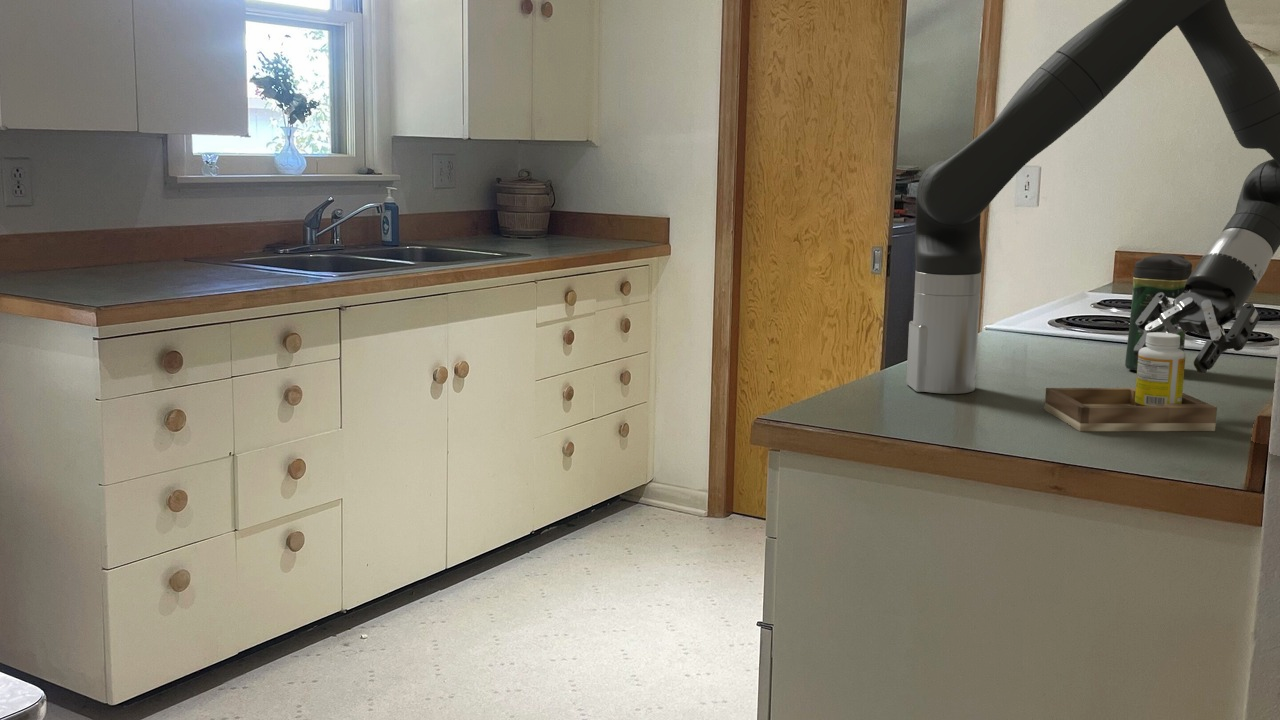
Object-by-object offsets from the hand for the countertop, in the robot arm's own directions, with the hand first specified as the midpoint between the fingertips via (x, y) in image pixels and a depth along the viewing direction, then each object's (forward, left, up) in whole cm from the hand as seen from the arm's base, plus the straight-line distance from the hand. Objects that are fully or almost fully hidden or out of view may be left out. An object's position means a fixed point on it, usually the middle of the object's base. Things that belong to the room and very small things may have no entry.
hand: (1168, 363), depth 147 cm
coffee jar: (+14, +33, -8) cm, 37 cm away
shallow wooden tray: (-5, -1, -7) cm, 9 cm away
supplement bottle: (-1, -1, -7) cm, 7 cm away
